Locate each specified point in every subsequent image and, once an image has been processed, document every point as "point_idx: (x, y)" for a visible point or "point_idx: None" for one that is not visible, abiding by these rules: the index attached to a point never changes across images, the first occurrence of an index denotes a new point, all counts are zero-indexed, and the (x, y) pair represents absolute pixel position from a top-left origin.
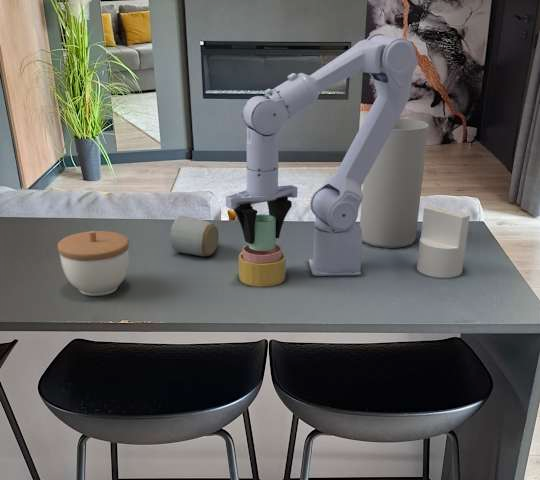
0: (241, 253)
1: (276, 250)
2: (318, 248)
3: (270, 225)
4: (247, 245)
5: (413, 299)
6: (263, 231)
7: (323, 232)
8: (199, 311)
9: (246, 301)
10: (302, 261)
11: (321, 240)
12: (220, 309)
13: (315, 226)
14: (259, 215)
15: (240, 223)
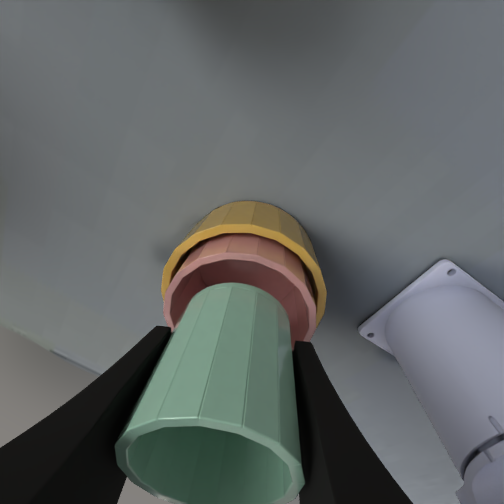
0: (191, 243)
1: (305, 310)
2: (419, 380)
3: (219, 486)
4: (209, 262)
5: (395, 458)
6: (190, 442)
7: (457, 466)
8: (46, 313)
9: (149, 331)
10: (434, 239)
11: (436, 421)
12: (88, 328)
13: (491, 452)
14: (238, 431)
15: (75, 399)
